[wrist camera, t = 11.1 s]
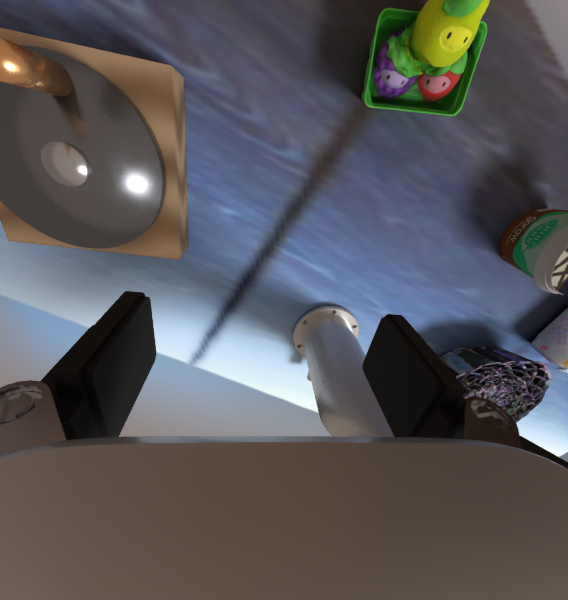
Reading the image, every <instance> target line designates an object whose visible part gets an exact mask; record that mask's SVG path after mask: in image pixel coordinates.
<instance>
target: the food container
mask: <svg viewBox="0 0 568 600" xmlns="http://www.w3.org/2000/svg"><path fill="white" fill-rule="evenodd" d="M498 250H499V255H500V256H501V258H502V259H503V260H504V261H506V262H508V263H509V264H511V265H512V266H514V267H516V268H517V269H519V270H521V271H522V272H524V273H525V274H527V275H529V276H530V277H532V278H534V281H535V283H536V285H537V286H538V287H539V288H540V289H542V290H544V291H547V292H551V293H554V294H558V293H559V294H562V293H560V292H559V291H558V290H559V288H561V287H562V285H563V284H564V282H565V281H566V280H567V279H568V211H567V210H556V209H546V208H540V209H533V210H531V211H528V212H526V213H523V214H522V215H520V216H519V217H518V218H516V219H515V220H514V221H513V222H512V223H511V224H510V225H509V226H508V227H507V228H506V230H505V231H504V233H503V234H502V236H501V238H500V241H499V247H498ZM562 295H563V294H562Z"/></svg>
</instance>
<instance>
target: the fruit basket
mask: <svg viewBox="0 0 568 600" xmlns="http://www.w3.org/2000/svg"><path fill="white" fill-rule="evenodd" d="M489 1H490V0H428V1H427V3H426V4H425V5H424V7H423V8H422V10H421V12H416V11H409V10H402V9H395V8H386V9H384V10H383V11H382V12H381V14H380V15H379V17H378V21H377V24H376V28H375V34H374V37H373V40H372V43H371V45H370V50H369V53H370V58H369V60H368V63H367V67H366V73H365V79H364V91H363V93H362V96H361V100H362V101H363V102H365V104H366V105H367V106H368V107H370V108H381V109H392V110H400V111H410V112H419V113H429V114H438V115H446V116H454V115H456V114H458V113H459V112H460V110H461V108H462V106H463V104H464V101H465V97H466V94H467V91H468V88H469V85H470V82H471V79H472V76H473V73H474V70H475V67H476V64H477V61H478V58H479V55H480V53H481V50H482V47H483V44H484V40H485V38H486V34H487V25H486V23H485V22H484V21H480V20H481V18H482V16H483V14H484V12H485V10H486V9H487V7H488V4H489Z"/></svg>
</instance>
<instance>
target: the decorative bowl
mask: <svg viewBox="0 0 568 600" xmlns="http://www.w3.org/2000/svg"><path fill="white" fill-rule="evenodd" d="M439 358H440V359H441V361H442V362H443V363H444V364H445V365H446V366H447V367H448V369H449V370H450V371H451V372H452V373H453V374H454V376H455V377H456V378H457V379H458V380H459V381H460V382H461V384H462V385H463V386H464V387H465V388H466V389H467V390H466V391H465V392H464V394H463V397H464V398H465V399H467V398H468V397H470V396H478V397H482V398H485V399H487V400H490V401H492V402H493V403H495V404H497V405H498V406H500V407H501V408H502V409H504V410H505V411H506V412H507V413H508V414H509V415H510V416H511V417H512V418H513V420H514V421H515V422H518V421H519V420H520V419H521V418H523V417H525V416H526V415H527V414H528V413H529V412H530V411H531V410H532V409H534V408H535V407H536V406H537V405H538V404H539V403H540V402H541V401H542V399H543V397H544V395H545V392H546V390H547V389H548V387H549V385H548V384H549V382H550V380H551V378H552V377H551V374H550V371H549V370H548V369H547V366H546V364H544V363H541V362H534V361H532V360H529V359H526V358H524V357H521V356H519V355H516V354H514V353H511V352H509V351H506V350H504V349H501V348H499V347H497V348H491V347H484V346H483V347H480V348H479V347H471V348H469V349H467V348H463V347H462V348H457V349H455V350H453V351H452V352H448V353H445V354H443V355H441V357H439Z"/></svg>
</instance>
